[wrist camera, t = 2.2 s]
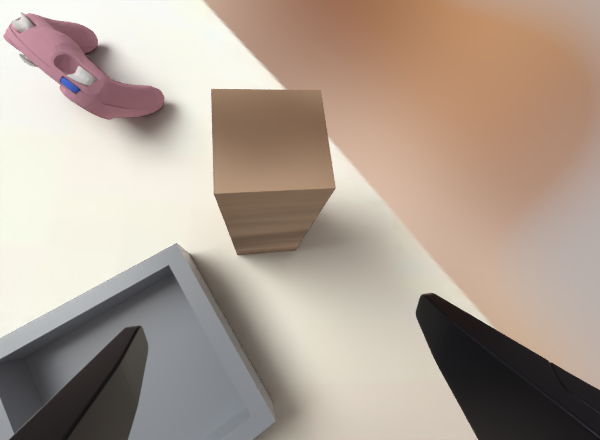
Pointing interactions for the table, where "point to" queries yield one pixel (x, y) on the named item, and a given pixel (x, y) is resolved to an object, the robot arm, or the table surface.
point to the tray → (160, 360)
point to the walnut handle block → (270, 165)
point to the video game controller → (78, 67)
